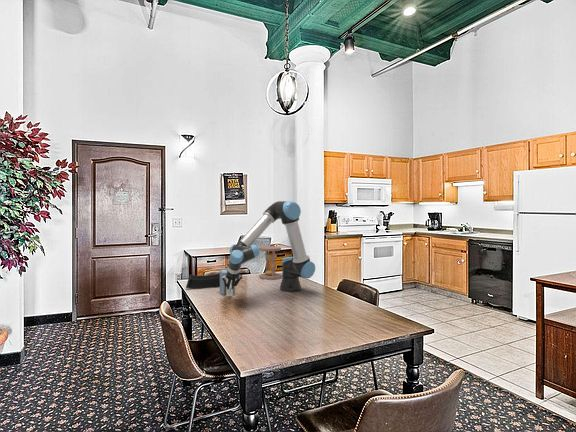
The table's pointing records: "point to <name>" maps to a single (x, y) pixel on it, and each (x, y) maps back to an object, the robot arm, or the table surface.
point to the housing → (222, 285)
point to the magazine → (203, 281)
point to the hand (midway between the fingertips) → (229, 291)
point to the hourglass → (270, 257)
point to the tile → (227, 289)
